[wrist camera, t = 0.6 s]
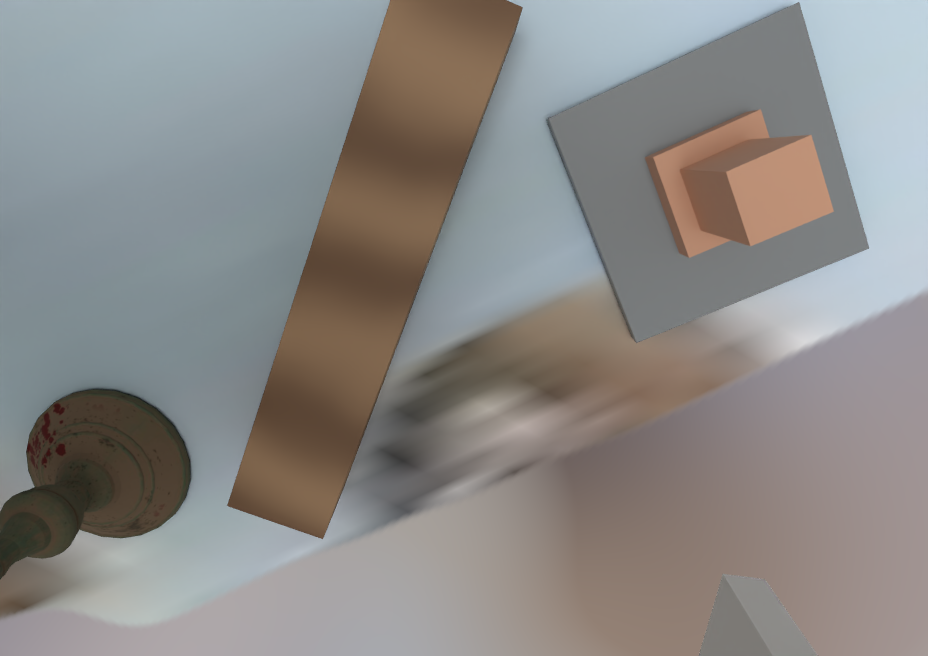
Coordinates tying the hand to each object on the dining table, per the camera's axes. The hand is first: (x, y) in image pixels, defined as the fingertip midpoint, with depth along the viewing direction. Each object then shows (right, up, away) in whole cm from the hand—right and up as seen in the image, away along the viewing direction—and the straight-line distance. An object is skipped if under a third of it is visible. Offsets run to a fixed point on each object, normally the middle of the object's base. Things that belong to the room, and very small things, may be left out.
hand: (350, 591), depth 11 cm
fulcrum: (+14, +12, +20) cm, 27 cm away
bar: (-3, +8, +22) cm, 23 cm away
